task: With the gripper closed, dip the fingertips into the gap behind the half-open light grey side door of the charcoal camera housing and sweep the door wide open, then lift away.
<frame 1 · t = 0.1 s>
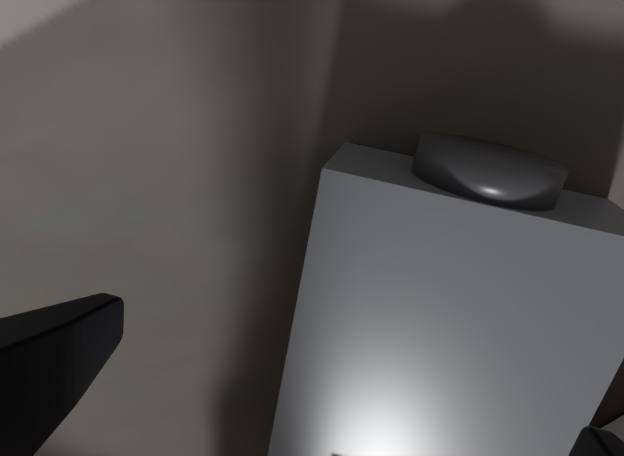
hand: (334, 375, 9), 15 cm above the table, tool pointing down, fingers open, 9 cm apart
camera housing: (415, 346, 25), on the table
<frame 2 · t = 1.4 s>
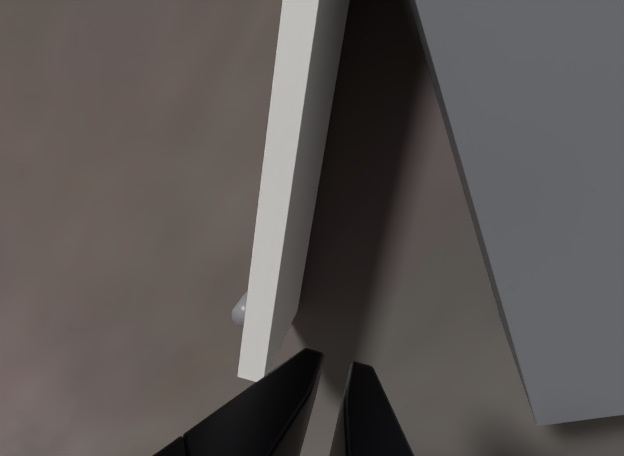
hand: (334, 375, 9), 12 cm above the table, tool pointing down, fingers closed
camera housing: (609, 56, 16), on the table
side door: (289, 140, 17), point 3 cm above the table, hinge at 30.0°
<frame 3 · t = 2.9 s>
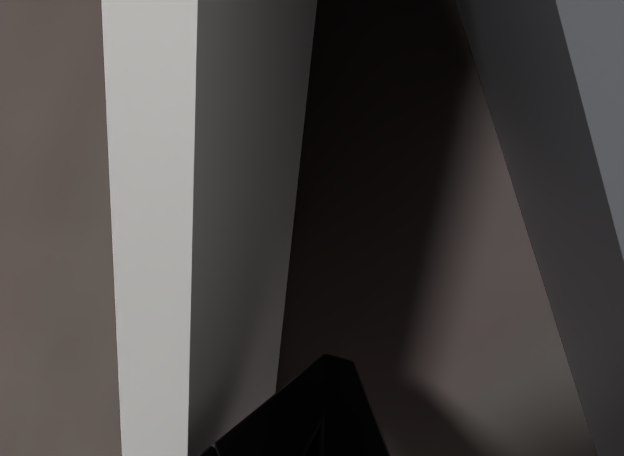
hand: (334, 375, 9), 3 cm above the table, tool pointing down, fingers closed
side door: (211, 235, 8), point 3 cm above the table, hinge at 30.0°, touching gripper
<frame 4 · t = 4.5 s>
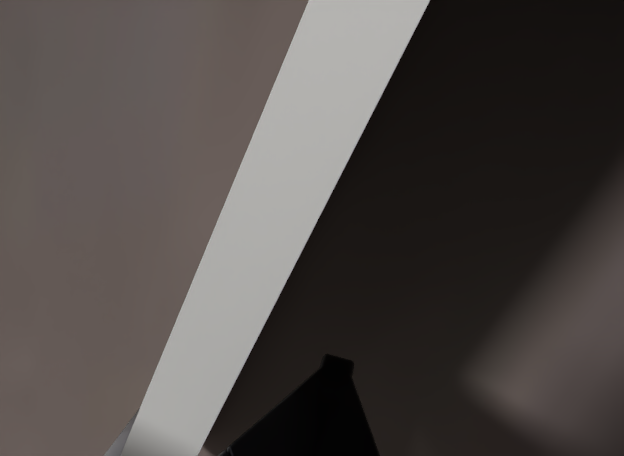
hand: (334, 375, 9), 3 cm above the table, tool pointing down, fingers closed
side door: (257, 226, 8), point 3 cm above the table, hinge at 62.9°, touching gripper
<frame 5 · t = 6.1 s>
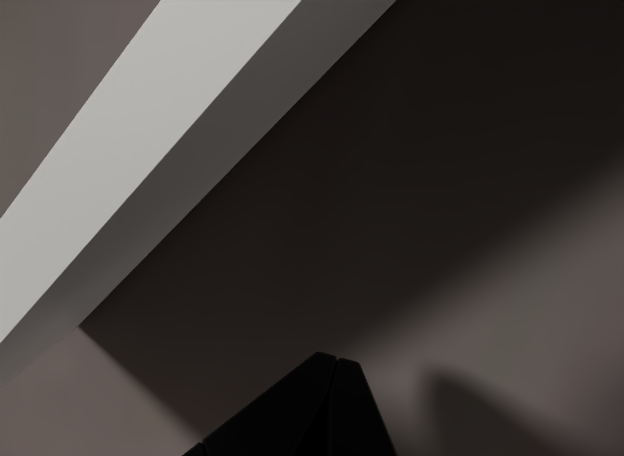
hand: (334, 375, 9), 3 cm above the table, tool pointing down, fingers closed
side door: (176, 122, 8), point 3 cm above the table, hinge at 84.1°
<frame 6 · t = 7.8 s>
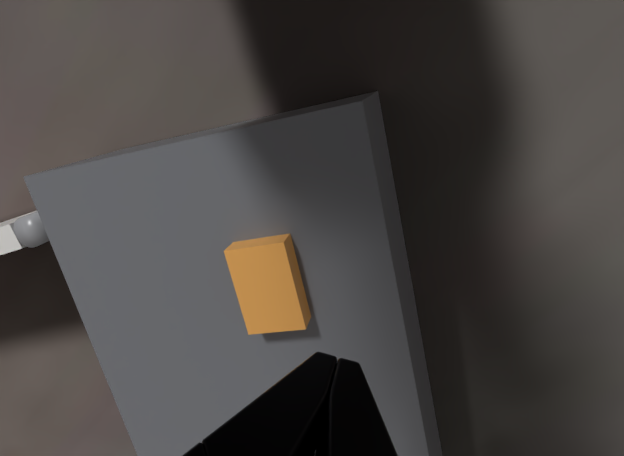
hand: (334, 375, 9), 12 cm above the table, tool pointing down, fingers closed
camera housing: (294, 323, 23), on the table
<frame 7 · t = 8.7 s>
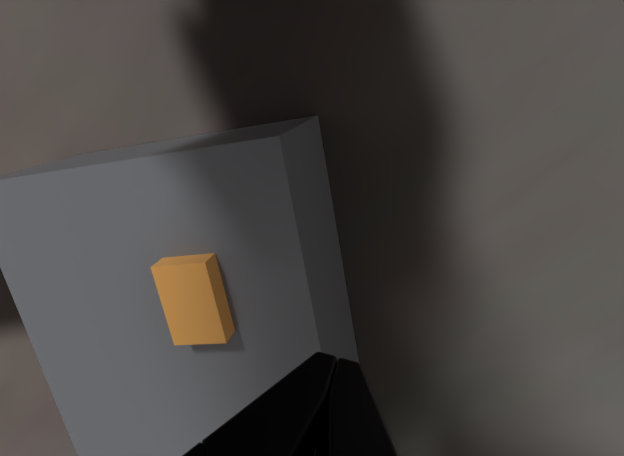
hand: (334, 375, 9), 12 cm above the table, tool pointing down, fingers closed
camera housing: (238, 329, 24), on the table
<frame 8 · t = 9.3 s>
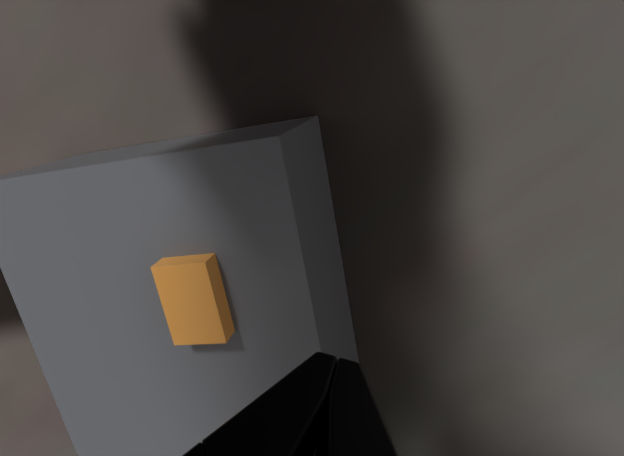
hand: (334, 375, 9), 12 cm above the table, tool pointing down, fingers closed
camera housing: (238, 329, 24), on the table
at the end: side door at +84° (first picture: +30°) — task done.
